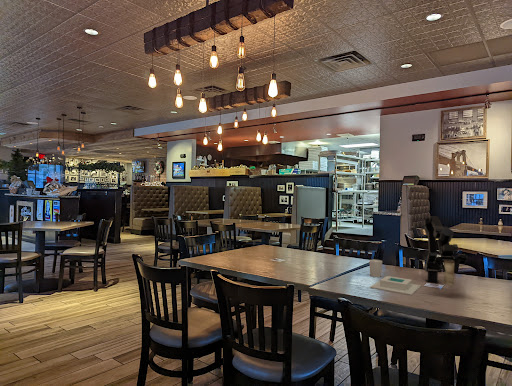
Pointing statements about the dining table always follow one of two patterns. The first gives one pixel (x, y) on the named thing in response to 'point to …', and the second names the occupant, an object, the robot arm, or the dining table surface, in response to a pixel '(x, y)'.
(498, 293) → the dining table surface
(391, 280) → the cream stepped platform
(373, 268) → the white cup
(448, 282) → the tan cylinder
